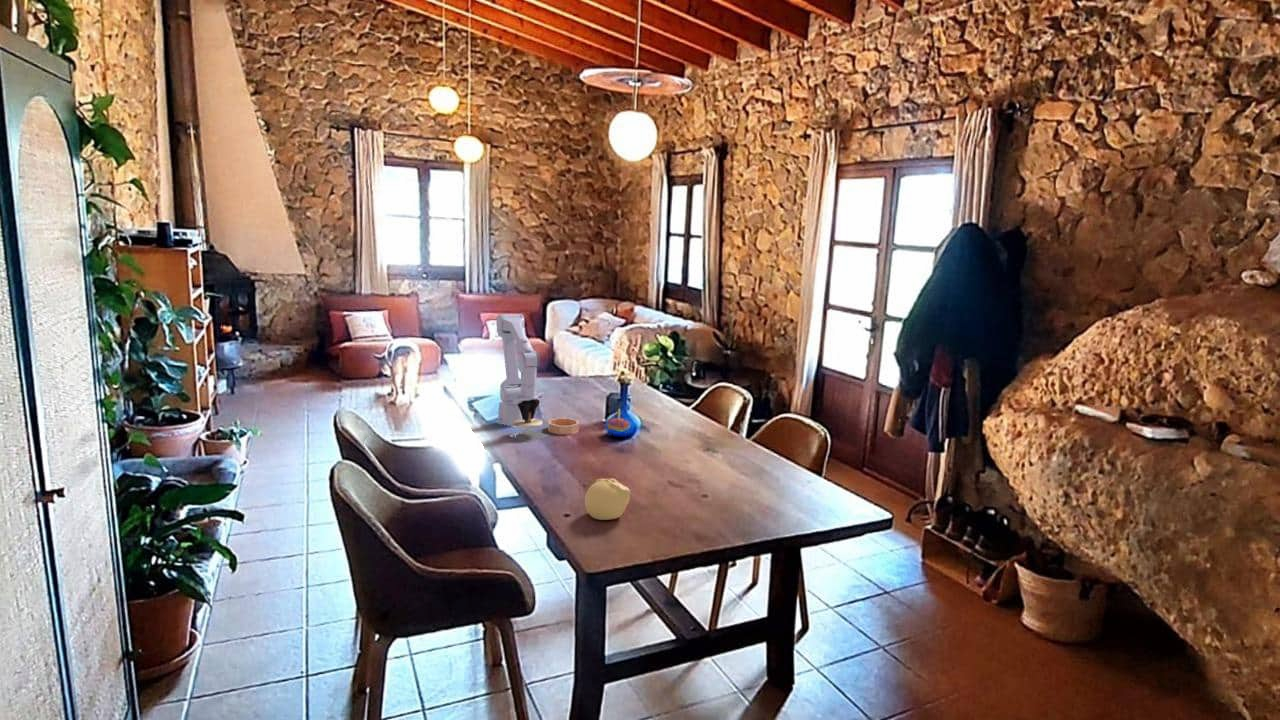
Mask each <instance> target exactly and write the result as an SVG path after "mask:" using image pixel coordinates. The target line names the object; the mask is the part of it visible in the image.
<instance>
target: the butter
mask: <svg viewBox="0 0 1280 720" xmlns="http://www.w3.org/2000/svg"><path fill="white" fill-rule="evenodd" d="M630 495H631V490H630V488H629V487H627V486H626V485H623V484H622V483H621V482H619V481H618V480H617V479H616V478H613V477H612V478H597V479H596V480H595V482H593V484H591V485H590V487H589V488H588V489H587V491H586V493H585V496H584V507H585V509H586V512H587V513H588V515H590V517H592V518H593V519H595V520H600V521H601V520H602V521H607V520H616V519H618V518H620V517H621V516H622V515H623V513H624V512H625V510H626V508H627V506H628V504H629V503H630V501H631V497H630Z"/></svg>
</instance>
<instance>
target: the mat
mask: <svg viewBox="0 0 1280 720" xmlns="http://www.w3.org/2000/svg"><path fill="white" fill-rule="evenodd" d="M519 431H520V432H521V431H522V432H521V433H522V434H521V433H520V432H519ZM519 431H518V432H519V434H518V435H516V439H515V436H514V435H513V438H512V439H515V440H517V439H518V441H522V442H525V443H528V444H529V443H532V442H536V441H538V440H541V439H544V438H546V437H549V436H551V435H550V434H546V433H542V432H540V431H537V430H532V429H530V428H525V429H522V430H519ZM507 435H509V434H506V435H505V437H507ZM509 436H510V435H509Z"/></svg>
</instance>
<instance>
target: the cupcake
mask: <svg viewBox="0 0 1280 720" xmlns="http://www.w3.org/2000/svg"><path fill="white" fill-rule="evenodd" d="M617 410H618V411H617V412H618V413H617V414H618V415H617V417H616V418H617V419H615V418H612V419H610V420H609V422H608V423H607V427H608V428H609V429H610V430H611V429H613V430H616V431H619V432H620V431H621V432H623V431H625V430H627V429H628V430H629V429H630V428H631V427H630V425H631V424H630V421H629V420H626V419H625V418H623V417H621V408H620V407H618V409H617ZM624 419H625V420H624ZM628 430H627V431H628Z"/></svg>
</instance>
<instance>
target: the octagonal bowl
mask: <svg viewBox="0 0 1280 720" xmlns="http://www.w3.org/2000/svg"><path fill="white" fill-rule="evenodd" d="M547 425H548V426H547V431H548V433H551V434H555V435H573V434H576V433H579V432H580V421H579V420H577V419H574V418H570V417H555V418H553V419H548V423H547Z"/></svg>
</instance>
